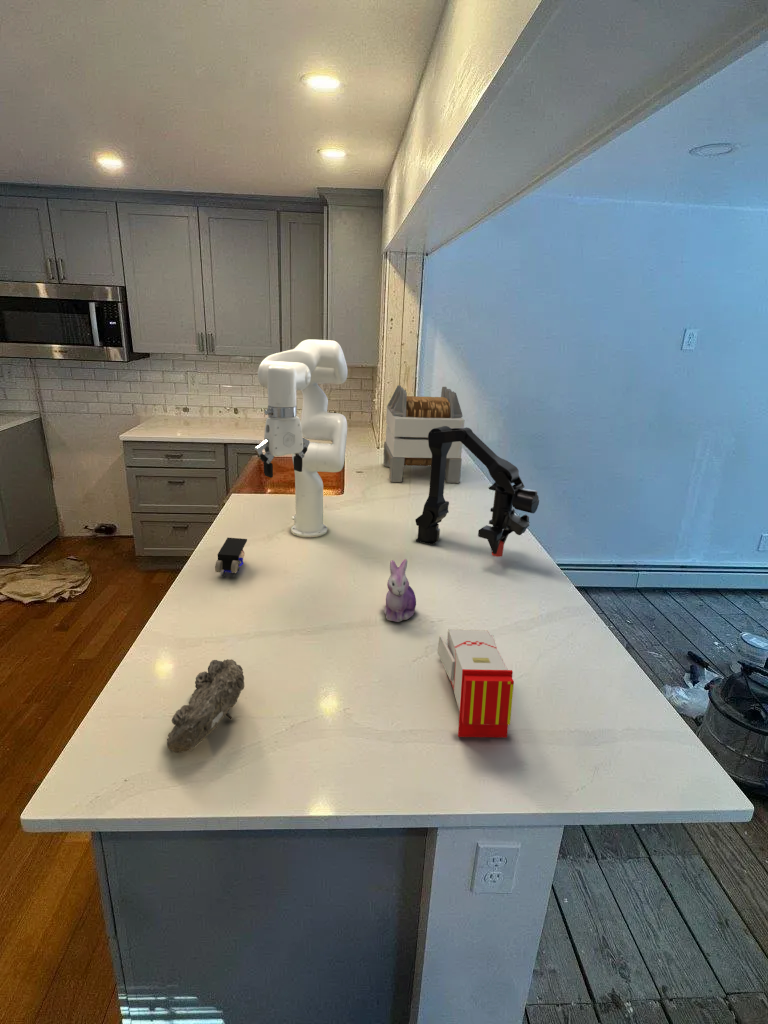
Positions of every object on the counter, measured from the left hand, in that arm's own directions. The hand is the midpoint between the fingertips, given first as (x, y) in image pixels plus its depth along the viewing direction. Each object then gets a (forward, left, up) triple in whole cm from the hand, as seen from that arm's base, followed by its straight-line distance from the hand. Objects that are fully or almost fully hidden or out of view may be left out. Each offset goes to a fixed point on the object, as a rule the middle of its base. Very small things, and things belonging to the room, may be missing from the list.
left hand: (283, 473), depth 158 cm
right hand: (+36, +56, -27) cm, 72 cm away
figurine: (+40, +8, -30) cm, 50 cm away
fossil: (+44, -47, -30) cm, 71 cm away
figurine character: (-10, -12, -30) cm, 34 cm away
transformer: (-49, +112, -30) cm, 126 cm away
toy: (+71, -3, -30) cm, 78 cm away
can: (+36, +56, -28) cm, 72 cm away
